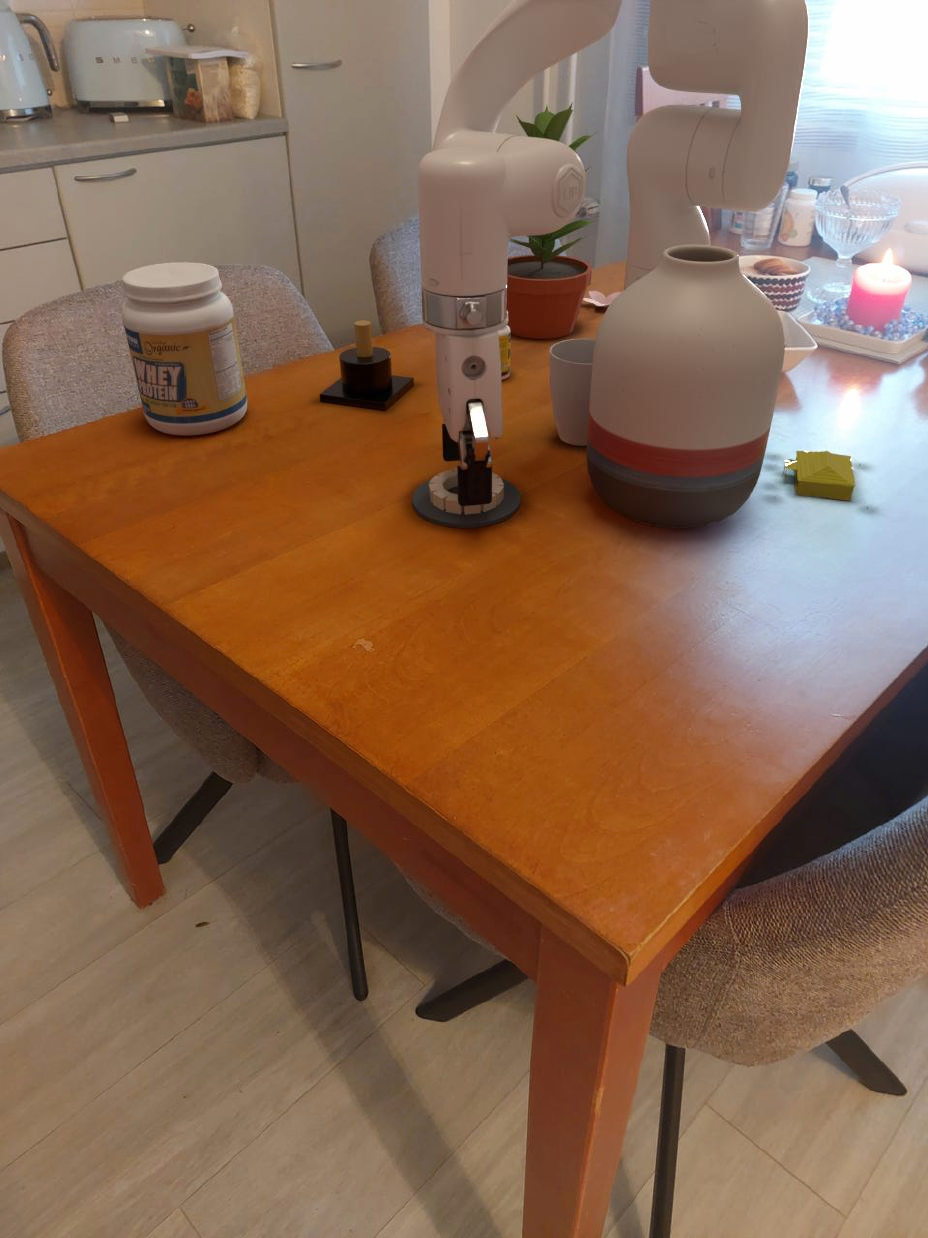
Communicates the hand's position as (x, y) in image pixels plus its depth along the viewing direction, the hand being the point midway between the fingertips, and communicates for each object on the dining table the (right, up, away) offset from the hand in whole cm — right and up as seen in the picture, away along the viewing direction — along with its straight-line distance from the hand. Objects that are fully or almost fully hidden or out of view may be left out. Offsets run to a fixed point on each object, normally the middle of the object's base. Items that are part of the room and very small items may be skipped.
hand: (466, 480), depth 89 cm
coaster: (0, -2, +1) cm, 2 cm away
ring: (0, -1, +1) cm, 2 cm away
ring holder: (-13, +15, +25) cm, 32 cm away
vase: (+20, -2, +1) cm, 20 cm away
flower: (+22, +36, +54) cm, 69 cm away
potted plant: (+11, +30, +46) cm, 56 cm away
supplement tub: (-32, +10, +19) cm, 39 cm away
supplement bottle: (+3, +18, +30) cm, 35 cm away
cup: (+13, +7, +14) cm, 20 cm away
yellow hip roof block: (+37, 0, +4) cm, 37 cm away
